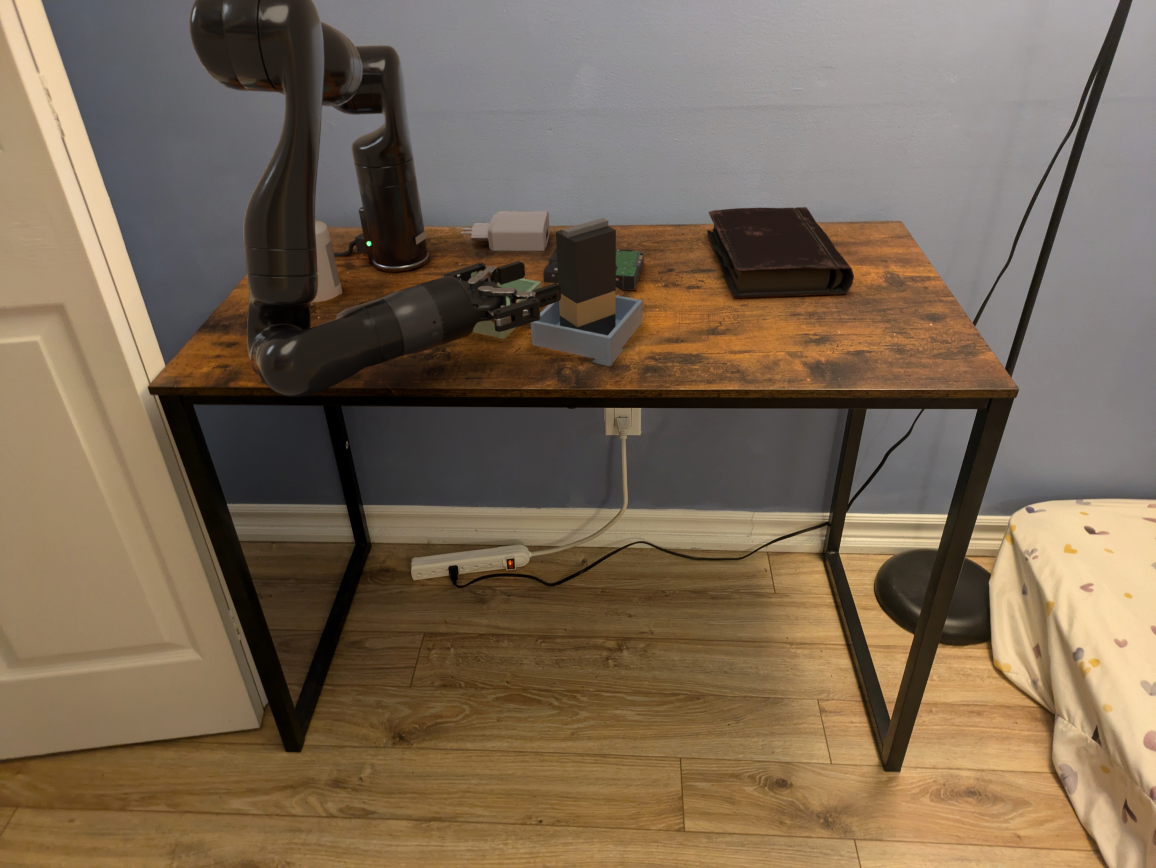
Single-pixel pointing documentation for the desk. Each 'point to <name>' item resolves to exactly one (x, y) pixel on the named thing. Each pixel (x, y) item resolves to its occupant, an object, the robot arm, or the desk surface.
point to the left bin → (519, 285)
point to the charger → (514, 231)
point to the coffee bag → (587, 276)
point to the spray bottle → (325, 265)
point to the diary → (777, 253)
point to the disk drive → (626, 269)
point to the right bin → (586, 342)
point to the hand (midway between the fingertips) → (540, 279)
